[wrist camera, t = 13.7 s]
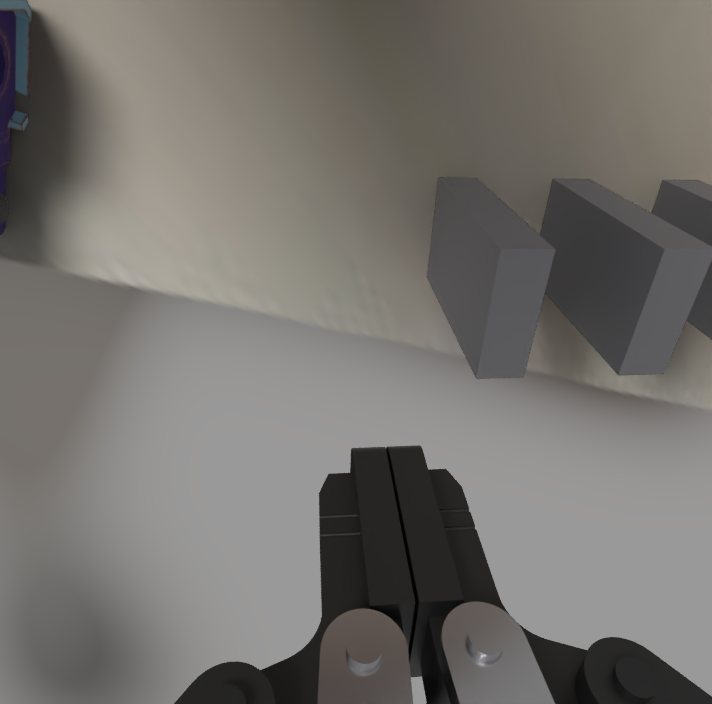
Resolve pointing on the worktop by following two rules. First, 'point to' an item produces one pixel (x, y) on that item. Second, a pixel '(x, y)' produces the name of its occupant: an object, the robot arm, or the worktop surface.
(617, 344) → the domino
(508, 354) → the domino
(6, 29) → the pistol
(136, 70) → the worktop surface
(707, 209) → the domino
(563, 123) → the worktop surface
